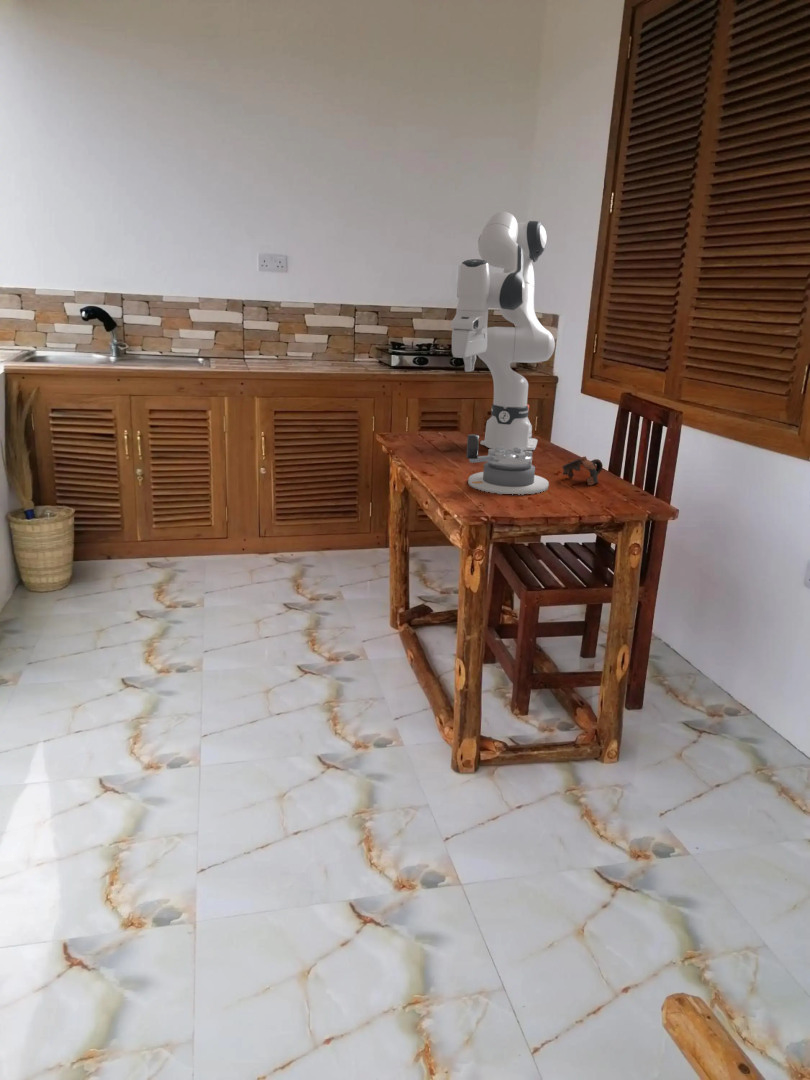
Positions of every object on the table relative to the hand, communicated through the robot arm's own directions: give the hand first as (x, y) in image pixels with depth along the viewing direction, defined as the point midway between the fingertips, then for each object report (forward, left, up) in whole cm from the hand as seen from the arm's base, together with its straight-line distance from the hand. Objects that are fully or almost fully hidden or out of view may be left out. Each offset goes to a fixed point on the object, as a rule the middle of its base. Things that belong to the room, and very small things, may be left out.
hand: (469, 371), depth 229 cm
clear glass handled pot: (+14, +14, -23) cm, 31 cm away
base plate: (+11, +17, -29) cm, 35 cm away
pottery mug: (-4, +35, -29) cm, 45 cm away
